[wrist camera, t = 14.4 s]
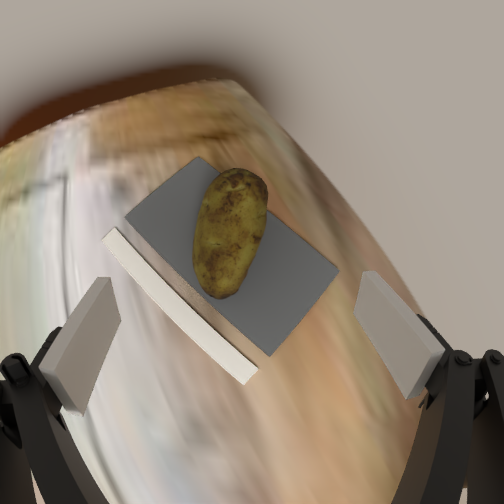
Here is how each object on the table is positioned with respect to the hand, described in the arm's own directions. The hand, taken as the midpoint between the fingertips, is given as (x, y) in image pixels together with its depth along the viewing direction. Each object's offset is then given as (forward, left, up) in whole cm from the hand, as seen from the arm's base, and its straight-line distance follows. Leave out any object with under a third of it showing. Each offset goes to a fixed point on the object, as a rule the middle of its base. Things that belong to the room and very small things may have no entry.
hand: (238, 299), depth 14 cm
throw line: (+7, +2, -17) cm, 19 cm away
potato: (+7, -7, -17) cm, 19 cm away
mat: (+7, -7, -17) cm, 20 cm away
